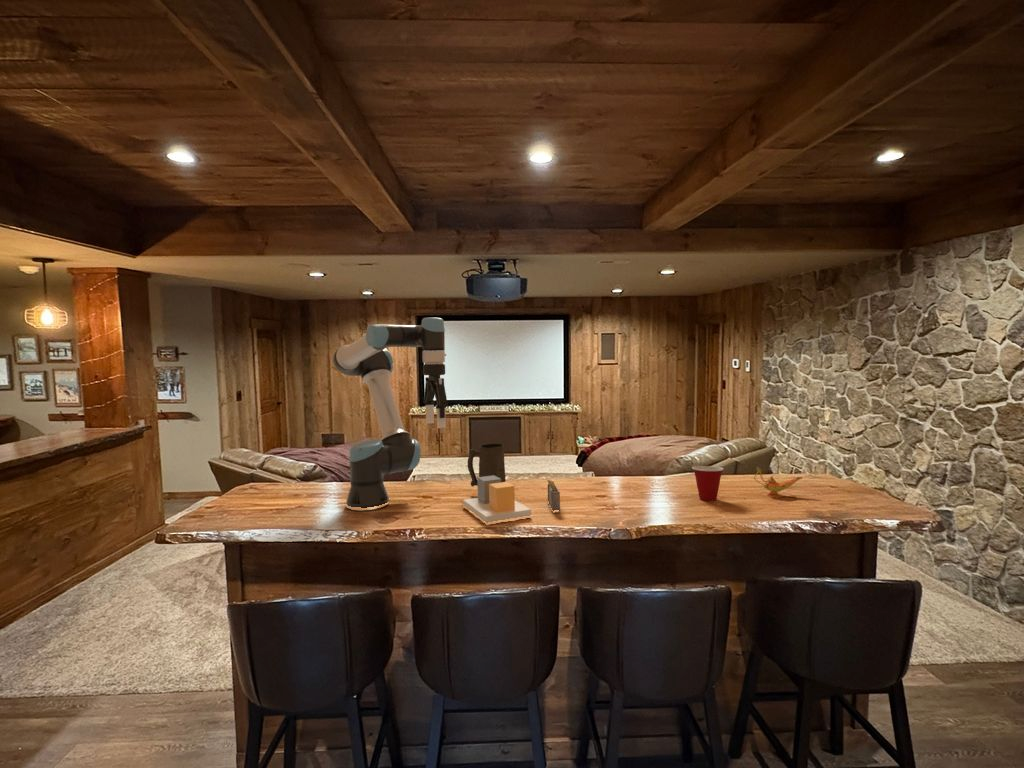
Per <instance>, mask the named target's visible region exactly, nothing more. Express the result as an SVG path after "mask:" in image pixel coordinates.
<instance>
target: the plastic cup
mask: <svg viewBox="0 0 1024 768" xmlns="http://www.w3.org/2000/svg"><path fill="white" fill-rule="evenodd" d="M691 468H692V470H693V473H694V477H695V481H696V486H697V487H696V488H697V491H698V497H699V500H700V501H703V502H716V501H717V498H718V492H719V489H720V482H721V478H722V474H723V471H724V467H721V466H713V465H711V466H710V465H695V466H692V467H691Z"/></svg>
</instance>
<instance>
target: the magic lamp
mask: <svg viewBox="0 0 1024 768" xmlns="http://www.w3.org/2000/svg"><path fill="white" fill-rule="evenodd" d="M756 470H757V473H755V475H754V477H753V478H754V480H755V482H757V483H759V484H761V486H763V489H762V488H760V490H762V491H764V490H767V491H770V492H769V493H767V494H766V496H767V497H770V498H774V497H775V499H776V498H782V497H783V496H782V495H781V494H779V493H778V492H782V491H784V490H785V489H787V488H790V487H791V486H793V485H794V484H795V483H796V482H798V481H799V480H801V479H803V476H798V477H795V478H792V479H790V480H787V481H780V482H777V481H776V480H775V478H774V476H773V475H771V476H770V477H769V478H768V479H767V480H765V479H764V478H763V474H762V468H761V467H757V466H756ZM758 474H759V476H760V479H761V480H762V482H764V483H762V482H760V481H758V480H757V478H756V476H757V475H758Z"/></svg>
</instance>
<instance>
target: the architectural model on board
mask: <svg viewBox="0 0 1024 768" xmlns="http://www.w3.org/2000/svg"><path fill="white" fill-rule="evenodd" d="M546 481H547V483H548V484H547V502H548V501H549V504H550V506H551V508H552V510H553V511H554V510H559V511H560V512H561V492H560V490H559V488H558V487H557V485H556V483H555V481H552V480H551V479H548V478H546ZM549 504H548V505H549Z"/></svg>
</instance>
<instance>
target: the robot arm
mask: <svg viewBox="0 0 1024 768" xmlns="http://www.w3.org/2000/svg"><path fill="white" fill-rule="evenodd" d="M445 330H446V329H445V322H444V319H443V318H441V317H423V318H422V320H421V324H420V325H419V324H418V325H416V324H415V325H414V324H413V325H411V324H409V325H408V324H407V325H406V324H383V323H377V324H370V325H368V326H367V329H366V330H365V334H364V335H362V336H361V337H360V338H358V339H357V340H355V341H353V342H352V343H350V344H344V345H342V346H340V347H339V348H337V349H336V350H335V351H334V352H333V355H332V363H333V366H334V368H335V369H336V370H337V371H338V372H339V373H341V374H343V375H345V376H348V377H356V376H357V377H361V380H362V382H363V384H366V385H367V389H368V390H369V395H370V398H371V401H372V404H373V407H374V411H375V414H376V418H377V422H378V425H379V429H380V432H381V437H382V438H381V439H372V440H365V441H361V442H358V443H356V444H354V445H352V446H351V447H350V448H349V457H348V461H349V476H350V487H349V491H348V495H347V499H346V501H345V503H346V504H347V505H348V506H351V507H361V508H367V507H374V506H379V505H382V504H385V503H387V502H388V501H389V502H390V498H389V495H388V491H387V489H386V486H385V484H384V475H388V474H389V475H391V474H394V473H395V474H396V473H401V472H408V471H411V470H414V469H416V467H418V465H419V463H420V461H421V454H422V453H421V452H422V451H421V445H420V443H419V441H418V440H417V439H415V438H411V433H410V432H408V431H407V430H405V429H404V425H403V422H402V418H401V415H400V412H399V409H398V408H399V407H398V405H397V402H396V399H395V395H394V391H393V389H392V386H391V382H390V377H391V376H392V374H391V373H392V372H393V370H394V359H393V356H392V353H391V352H390V350H388V349H387V348H422V349H421V350H422V357H421V359H422V363H423V365H422V375H423V376H426V377H425V381H424V382H425V384H424V386H425V387H424V395H423V403H424V404H425V423H426V424H429V425H430V424H435V415H434V414H435V409H436V422H437V423H436V425H437V426H436V428H437V429H444V428H445V429H446V428H447V427H446V426H447V420H446V416H447V415H446V408H447V407H448V406H449V404H448V398H447V393H446V387H445V379H444V377H441V376H443V375H445V374H446V364H445V362H446V358H445V357H446V356H447V353H446V352H445V349H446V348H445V344H446V343H445V339H446V338H445ZM427 376H428V377H427ZM434 400H435V401H434ZM435 402H436V405H435ZM434 406H435V409H434Z"/></svg>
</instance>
